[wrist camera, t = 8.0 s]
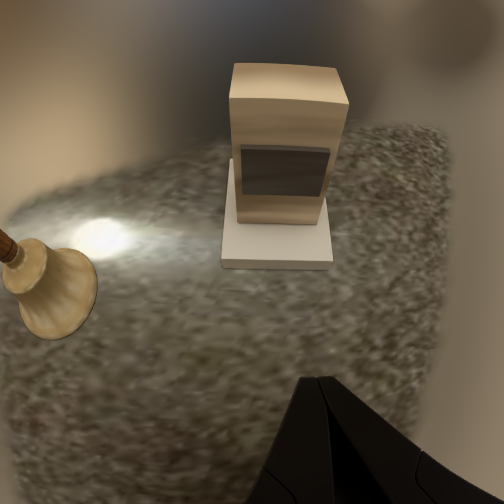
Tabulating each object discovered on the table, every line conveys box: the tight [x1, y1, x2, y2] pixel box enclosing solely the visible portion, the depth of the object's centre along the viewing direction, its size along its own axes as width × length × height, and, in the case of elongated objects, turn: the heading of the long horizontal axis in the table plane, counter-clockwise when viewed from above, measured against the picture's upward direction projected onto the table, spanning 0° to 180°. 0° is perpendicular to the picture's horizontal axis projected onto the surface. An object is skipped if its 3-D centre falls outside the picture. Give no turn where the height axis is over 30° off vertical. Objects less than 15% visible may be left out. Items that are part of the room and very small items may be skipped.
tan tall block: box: [229, 63, 349, 225], centre depth 20 cm, size 4×6×11 cm
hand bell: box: [0, 229, 97, 340], centre depth 16 cm, size 8×8×16 cm
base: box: [221, 159, 333, 270], centre depth 24 cm, size 10×8×6 cm
